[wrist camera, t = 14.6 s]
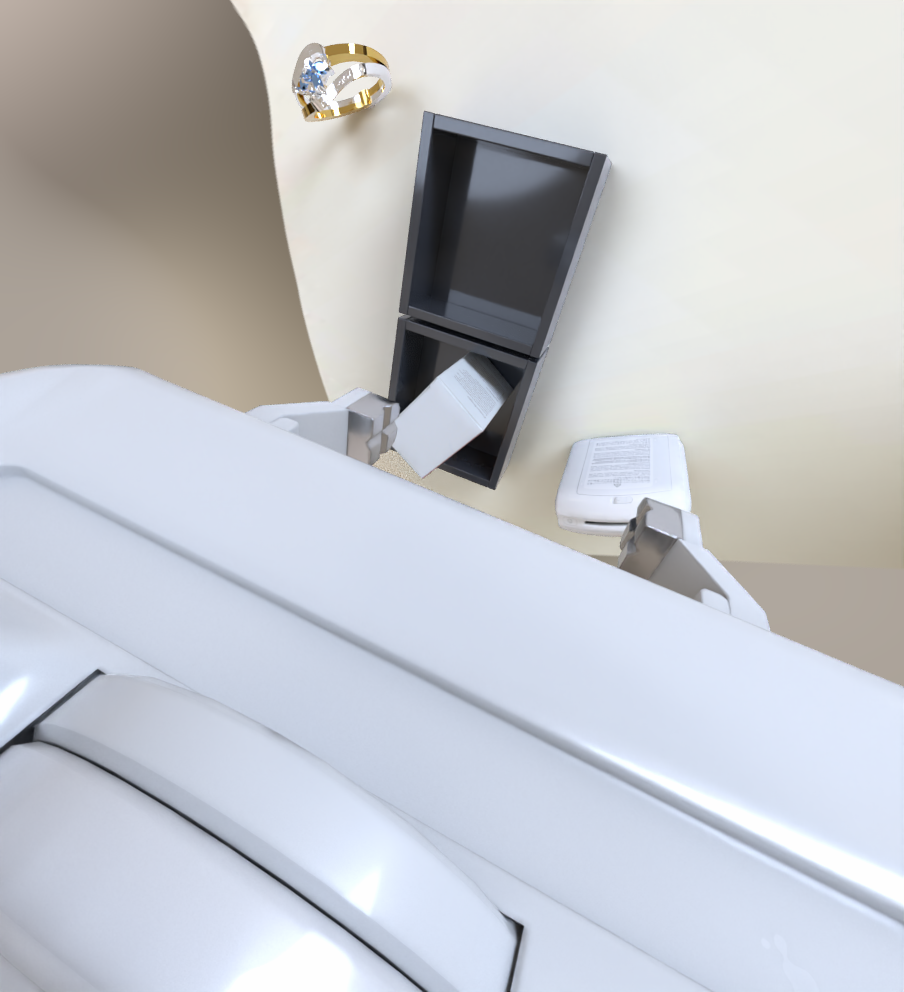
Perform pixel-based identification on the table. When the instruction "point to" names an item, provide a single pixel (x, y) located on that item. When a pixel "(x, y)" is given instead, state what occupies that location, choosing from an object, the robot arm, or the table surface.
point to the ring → (337, 80)
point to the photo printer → (620, 481)
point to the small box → (450, 413)
